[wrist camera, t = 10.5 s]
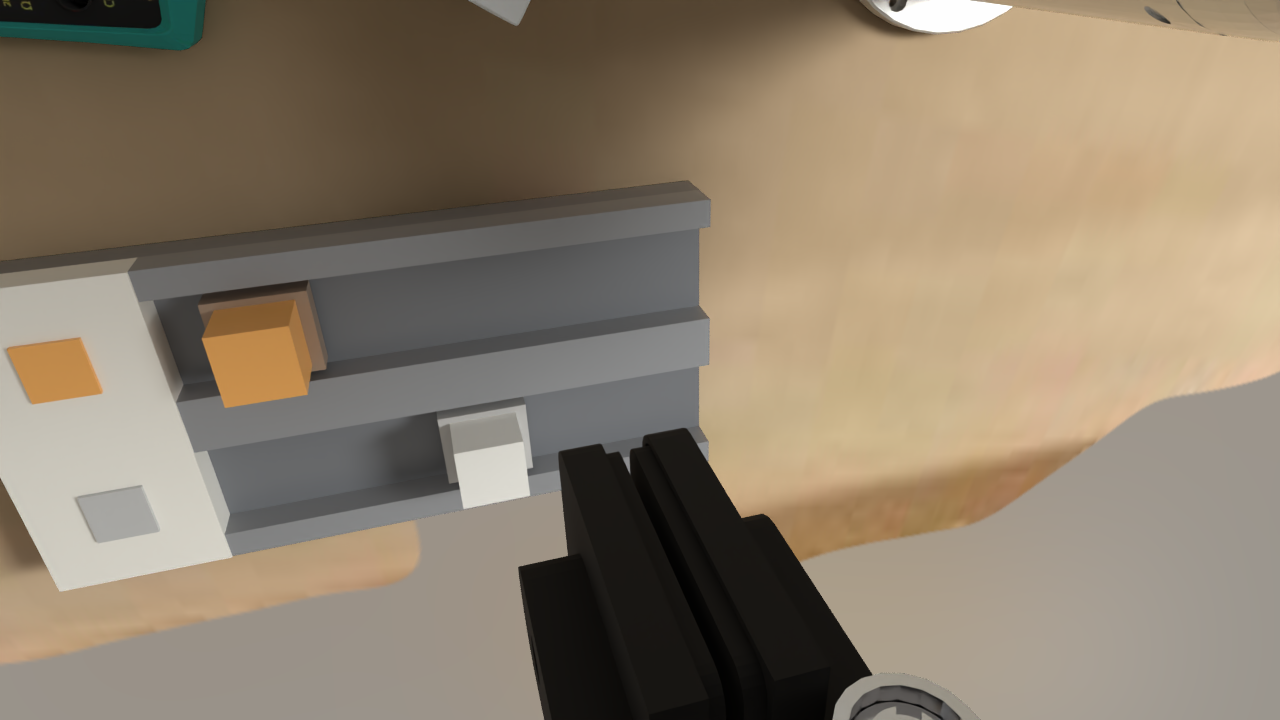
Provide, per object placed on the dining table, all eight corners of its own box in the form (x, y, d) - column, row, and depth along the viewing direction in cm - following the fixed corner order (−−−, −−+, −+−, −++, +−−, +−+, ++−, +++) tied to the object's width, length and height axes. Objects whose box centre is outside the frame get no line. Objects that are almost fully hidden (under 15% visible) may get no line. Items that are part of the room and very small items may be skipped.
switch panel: (688, 180, 38) (712, 201, 35) (689, 430, 45) (710, 464, 42) (-53, 267, 31) (-96, 301, 28) (82, 545, 38) (58, 594, 35)
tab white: (521, 391, 38) (533, 433, 35) (529, 453, 40) (541, 498, 37) (435, 406, 38) (440, 450, 34) (447, 469, 39) (453, 516, 36)
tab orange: (308, 279, 33) (300, 317, 30) (327, 356, 35) (322, 399, 32) (203, 293, 32) (184, 333, 29) (228, 371, 34) (213, 416, 31)
